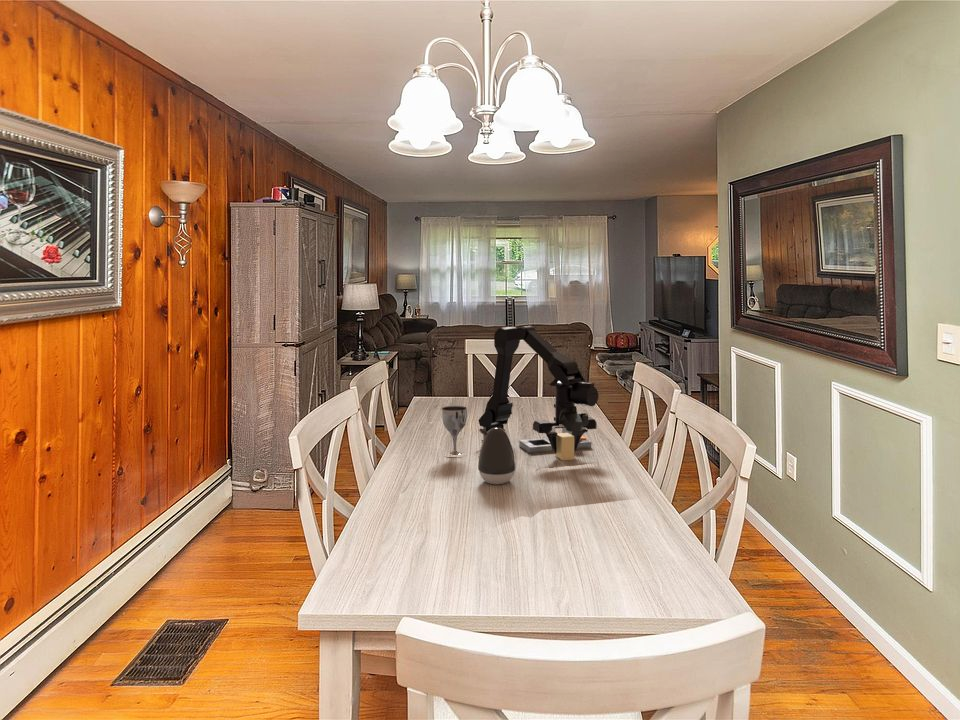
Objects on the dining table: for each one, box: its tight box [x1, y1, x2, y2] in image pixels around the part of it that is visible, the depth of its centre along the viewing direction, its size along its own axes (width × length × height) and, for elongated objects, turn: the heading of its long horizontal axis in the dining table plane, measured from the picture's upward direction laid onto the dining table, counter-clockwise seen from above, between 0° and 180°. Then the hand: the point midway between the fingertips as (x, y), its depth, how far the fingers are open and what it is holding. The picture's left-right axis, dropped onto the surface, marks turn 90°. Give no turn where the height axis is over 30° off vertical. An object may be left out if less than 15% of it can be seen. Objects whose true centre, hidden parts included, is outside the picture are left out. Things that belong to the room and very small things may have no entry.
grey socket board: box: [518, 435, 592, 455], centre depth 214 cm, size 21×10×4 cm, turn 106°
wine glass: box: [441, 405, 468, 455], centre depth 209 cm, size 8×8×15 cm
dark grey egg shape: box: [477, 427, 516, 485], centre depth 182 cm, size 10×10×15 cm
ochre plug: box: [554, 432, 575, 461], centre depth 202 cm, size 4×5×8 cm
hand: (564, 452), depth 202 cm, fingers open, 6 cm apart
